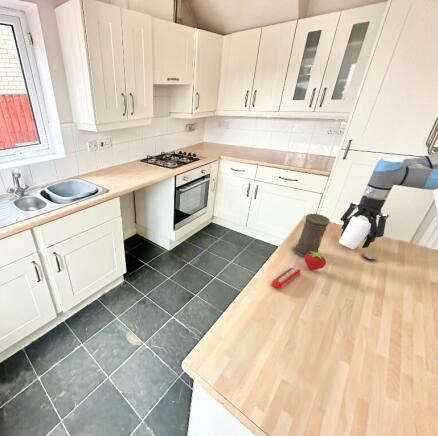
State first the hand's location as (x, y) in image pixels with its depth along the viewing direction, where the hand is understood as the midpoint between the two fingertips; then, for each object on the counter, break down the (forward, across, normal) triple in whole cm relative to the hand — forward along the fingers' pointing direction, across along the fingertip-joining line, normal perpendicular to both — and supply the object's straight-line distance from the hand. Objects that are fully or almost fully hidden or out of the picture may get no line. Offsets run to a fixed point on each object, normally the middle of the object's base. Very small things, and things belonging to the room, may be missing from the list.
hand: (353, 241), depth 111 cm
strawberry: (+3, +7, -31) cm, 32 cm away
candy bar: (+3, +8, -46) cm, 47 cm away
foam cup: (+2, 0, -4) cm, 4 cm away
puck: (+3, +9, -1) cm, 9 cm away
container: (+3, -3, -23) cm, 24 cm away
